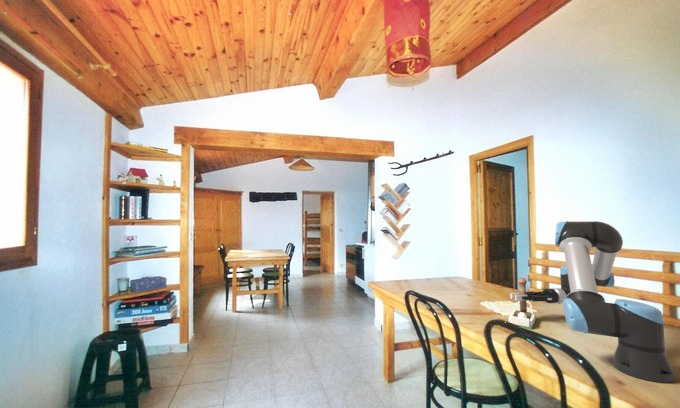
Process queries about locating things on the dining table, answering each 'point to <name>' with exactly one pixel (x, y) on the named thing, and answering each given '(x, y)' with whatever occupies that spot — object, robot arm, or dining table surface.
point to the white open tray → (522, 320)
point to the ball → (522, 315)
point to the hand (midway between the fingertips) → (513, 297)
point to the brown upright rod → (523, 304)
